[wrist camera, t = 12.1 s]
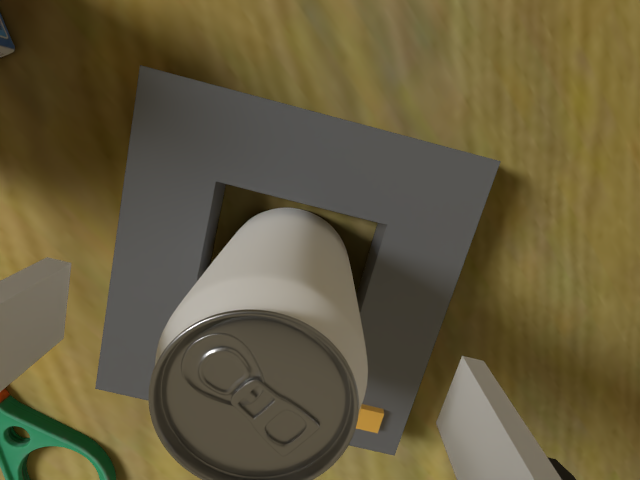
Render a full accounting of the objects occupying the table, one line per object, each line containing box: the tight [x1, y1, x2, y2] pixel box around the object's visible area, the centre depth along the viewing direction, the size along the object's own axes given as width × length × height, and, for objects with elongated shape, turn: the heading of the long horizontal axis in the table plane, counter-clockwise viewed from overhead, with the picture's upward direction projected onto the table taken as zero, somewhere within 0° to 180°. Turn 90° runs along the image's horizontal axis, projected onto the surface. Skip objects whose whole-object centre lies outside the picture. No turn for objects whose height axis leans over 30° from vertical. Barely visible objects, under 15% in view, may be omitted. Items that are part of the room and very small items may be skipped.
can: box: [149, 208, 368, 480], centre depth 17 cm, size 6×6×12 cm
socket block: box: [95, 65, 500, 455], centre depth 22 cm, size 16×16×3 cm
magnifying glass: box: [0, 388, 116, 480], centre depth 25 cm, size 15×6×2 cm, turn 32°
